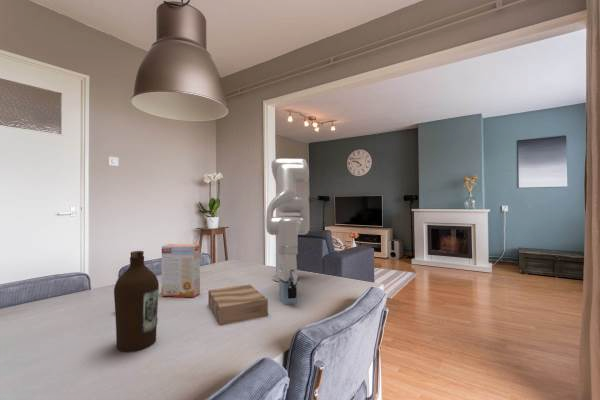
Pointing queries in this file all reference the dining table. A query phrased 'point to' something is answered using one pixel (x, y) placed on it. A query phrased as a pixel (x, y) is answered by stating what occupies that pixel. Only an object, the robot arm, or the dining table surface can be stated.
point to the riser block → (237, 304)
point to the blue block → (285, 293)
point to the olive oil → (136, 306)
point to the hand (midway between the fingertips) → (288, 294)
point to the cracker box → (181, 270)
